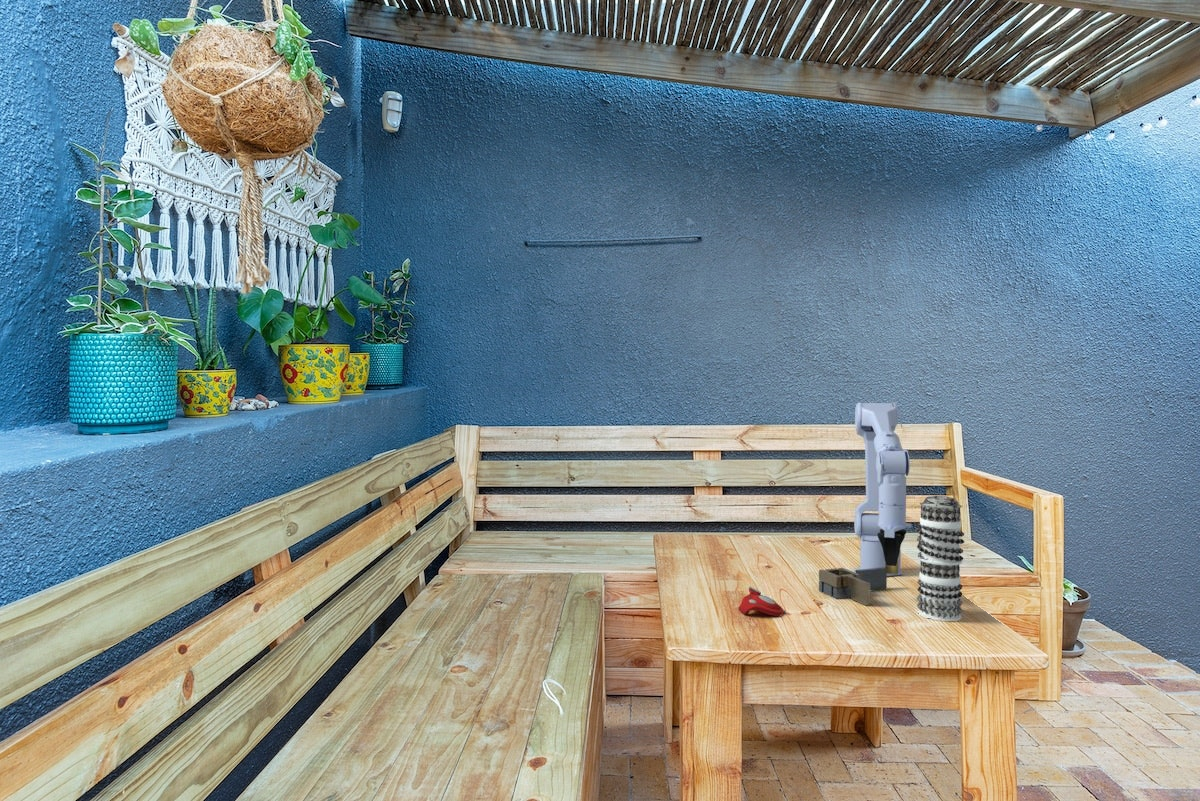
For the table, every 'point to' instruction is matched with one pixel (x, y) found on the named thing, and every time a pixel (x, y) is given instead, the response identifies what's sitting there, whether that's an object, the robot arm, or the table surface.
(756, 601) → the tracker holder
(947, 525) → the decorative candle
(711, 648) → the table surface
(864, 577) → the fixed leaf
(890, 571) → the hinge pin
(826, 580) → the swing leaf
